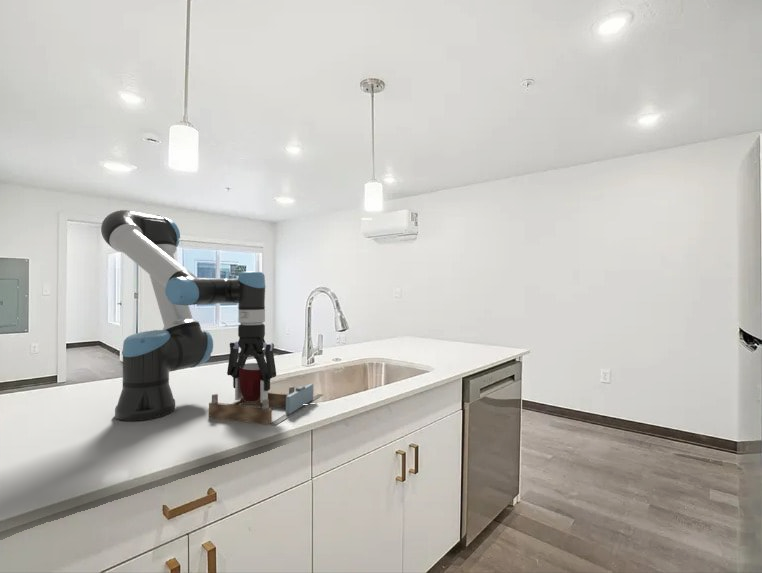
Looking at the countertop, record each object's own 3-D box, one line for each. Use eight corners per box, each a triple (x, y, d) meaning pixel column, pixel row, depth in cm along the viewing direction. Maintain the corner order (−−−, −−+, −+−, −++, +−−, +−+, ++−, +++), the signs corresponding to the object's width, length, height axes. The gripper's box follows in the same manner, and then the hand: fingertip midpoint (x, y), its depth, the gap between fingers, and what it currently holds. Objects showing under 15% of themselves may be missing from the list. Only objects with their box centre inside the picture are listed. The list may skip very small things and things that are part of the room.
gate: (285, 413, 112) (285, 393, 112) (309, 398, 127) (309, 381, 127) (290, 414, 112) (290, 394, 112) (313, 399, 127) (313, 381, 127)
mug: (266, 406, 111) (268, 372, 111) (236, 407, 109) (238, 372, 108) (265, 394, 121) (267, 363, 121) (237, 395, 119) (239, 363, 118)
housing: (208, 417, 110) (208, 394, 110) (268, 389, 139) (268, 372, 139) (275, 425, 104) (275, 401, 104) (323, 395, 133) (323, 376, 133)
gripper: (213, 323, 114) (213, 400, 114) (275, 325, 109) (275, 407, 109) (230, 321, 122) (230, 394, 122) (289, 323, 116) (289, 399, 116)
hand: (251, 400), depth 115 cm, fingers closed on mug, 8 cm apart
